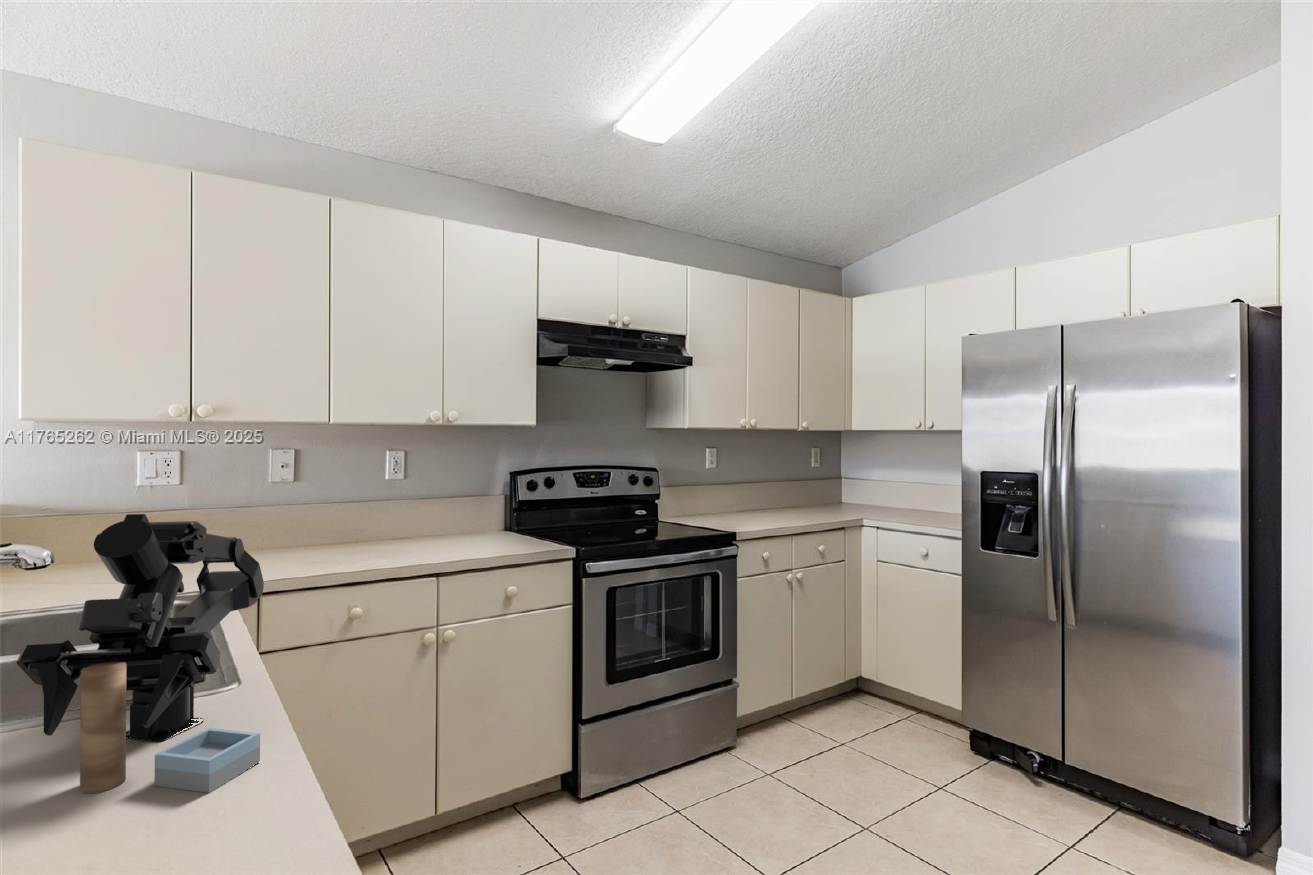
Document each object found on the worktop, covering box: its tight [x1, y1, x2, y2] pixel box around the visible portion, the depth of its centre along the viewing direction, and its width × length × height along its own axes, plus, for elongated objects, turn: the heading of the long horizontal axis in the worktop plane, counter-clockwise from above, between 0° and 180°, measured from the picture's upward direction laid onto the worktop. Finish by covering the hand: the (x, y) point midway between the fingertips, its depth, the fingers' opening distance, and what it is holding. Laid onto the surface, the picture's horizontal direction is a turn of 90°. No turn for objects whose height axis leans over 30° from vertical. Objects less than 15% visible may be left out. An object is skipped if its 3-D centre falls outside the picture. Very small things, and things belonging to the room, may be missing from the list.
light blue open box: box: [154, 727, 261, 794], centre depth 80 cm, size 7×7×4 cm
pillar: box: [79, 662, 127, 794], centre depth 77 cm, size 4×4×13 cm
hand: (97, 730), depth 76 cm, fingers open, 9 cm apart
